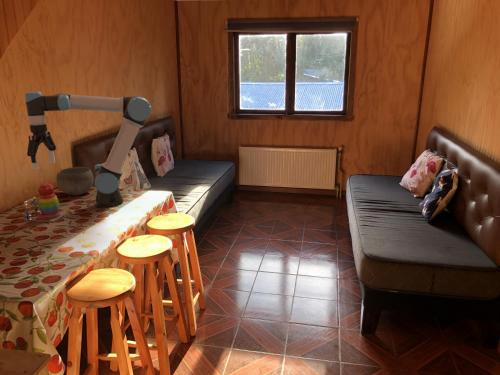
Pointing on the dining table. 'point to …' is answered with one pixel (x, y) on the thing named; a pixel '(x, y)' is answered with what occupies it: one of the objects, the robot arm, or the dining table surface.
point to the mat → (52, 219)
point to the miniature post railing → (27, 209)
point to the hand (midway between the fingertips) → (44, 166)
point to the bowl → (75, 180)
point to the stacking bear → (48, 203)
